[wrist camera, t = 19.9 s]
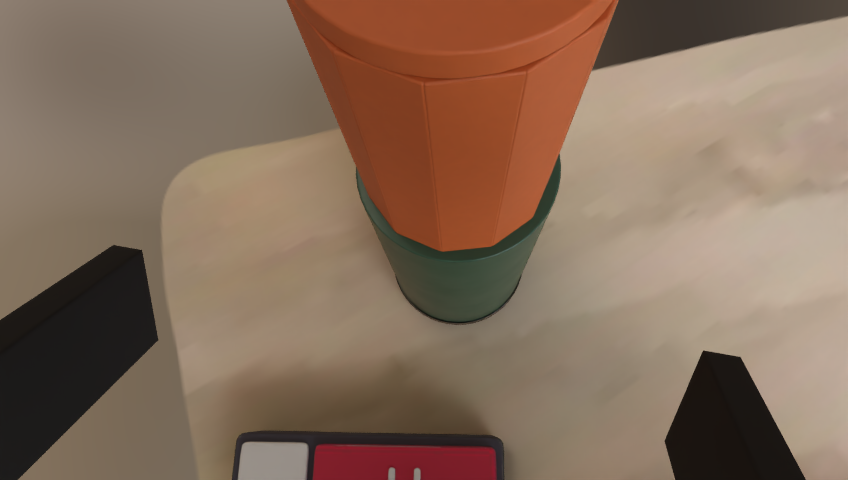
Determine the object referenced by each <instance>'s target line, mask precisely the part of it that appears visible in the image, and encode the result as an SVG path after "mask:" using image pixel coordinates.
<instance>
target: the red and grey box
mask: <svg viewBox="0 0 848 480" xmlns="http://www.w3.org/2000/svg"><path fill="white" fill-rule="evenodd" d="M232 480H504V450H503V443H502V441H501V440H500V439H499V438H497V437H495V436H492V435H460V434H404V433H347V432H310V431H255V432H247V433H242V434H241V435H239V437H238V438H237V442H236V449H235V457H234V466H233V474H232Z"/></svg>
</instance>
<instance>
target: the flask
mask: <svg viewBox="0 0 848 480" xmlns="http://www.w3.org/2000/svg"><path fill="white" fill-rule="evenodd" d="M560 176H561V162H560V154H559V155H558V158H557V160H556V163H555V166H554V168H553V171H552V173H551V176H550V178H549V181H548V183H547V185H546V188H545V190H544V192H543V195H542V197H541V200H540V202H539V204H538V207H537V209H536V211H535V214H534V216H533V218H532V219H530V220H529V221H527V222H526V223H525V224H523V225H522V226H520V227H519V228H518V229H516V230H515V231H513V232H512V233H511V234H509V235H508V236H506V237H505V238H504V239H502V240H501V241H499V242H498V243H497V244H495V245H494V246H491V247H482V248H473V249H464V250H454V251H445V252H442V251H438V250H436V249H433V248H431V247H429V246H426V245H424V244H421V243H419V242H417V241H414V240H412V239H410V238H407V237H405V236H402V235H400V234H398V233H396V232H395V231H394V230H393V229H392V227H391V226H390V224H389V223H388V222H387V220H386V219H385V218H384V216H383V215H382V214H381V212H380V211H379V210H378V208H377V207H376V205H375V204H374V203H373V201H372V200H371V199H370V197H369V196H368V193H367V191H366V188H365V186H364V184H363V181H362V179H361V176H360V174H359V172H358V169H357V167H356V179H357V187H358V191H359V194H360V198H361V201H362V203H363V205H364V207H365V210H366V212H367V214H368V216H369V218H370V221H371V223H372V225H373V227H374V229H375V231H376V234H377V236H378V238H379V240H380V242H381V244H382V247H383V249H384V251H385V253H386V255H387V257H388V259H389V262H390V264H391V266H392V268H393V270H394V272H395V275H396V279H397V282H398V284H399V287H400V289H401V291H402V293H403V294H404V296H405V298H406V299H407V300H408V301H409V303H410V304H411V305H412V306H413V307H414V308H415V309H416V310H418V311H419V312H420V313H422V314H423V315H425V316H427V317H429V318H430V319H433V320H435V321H438V322H441V323H446V324H453V325H465V324H471V323H476V322H479V321H482V320H484V319H486V318H489V317H491V316H492V315H494V314H495V313H497V312H498V311H499V310H500V309H502V308H503V307H504V306H505V305H506V304H507V303H508V301H509V300H510V299H511V297H512V296H513V294H514V293H515V291H516V289H517V287H518V284H519V281H520V278H521V274H522V272H523V270H524V267H525V265H526V263H527V261H528V259H529V256H530V254H531V252H532V250H533V248H534V245H535V243H536V241H537V239H538V237H539V234H540V232H541V230H542V228H543V226H544V223H545V221H546V219H547V217H548V214H549V212H550V210H551V208H552V206H553V203H554V201H555V198H556V195H557V192H558V188H559V183H560Z"/></svg>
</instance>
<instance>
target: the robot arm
mask: <svg viewBox="0 0 848 480" xmlns="http://www.w3.org/2000/svg"><path fill="white" fill-rule="evenodd" d="M157 341H158V336H157V331H156V326H155V319H154V314H153V309H152V303H151V297H150V292H149V286H148V281H147V275H146V269H145V264H144V258H143V253H142V250H138V249H132V248H127V247H121V246H116V245H113V246H111V247H110V248H108V249H107V250H105V251H104V252H102V253H101V254H99V255H98V256H96V257H95V258H93V259H92V260H90V261H89V262H87V263H86V264H84V265H83V266H81V267H80V268H78V269H77V270H75V271H74V272H72V273H70V274H69V275H67V276H66V277H64V278H63V279H61V280H60V281H58V282H57V283H55V284H54V285H52V286H51V287H50V288H48V289H46V290H45V291H43V292H42V293H40V294H39V295H38V296H36V297H35V298H33V299H31V300H30V301H28V302H27V303H25V304H24V305H22V306H21V307H19V308H18V309H16V310H15V311H13V312H12V313H10V314H9V315H7V316H6V317H4V318H3V319H1V320H0V480H18V479H19V478H20V477H21V476H22V475H23V474H24V473H25V472H26V471H27V470H28V469H29V468H30V467H31V466H32V465H33V464H34V463H35V462H36V461H37V460H38V459H39V458H40V457H41V456H42V455H43V454H44V453H45V452H46V451H47V450H48V449H49V448H50V447H51V446H52V445H53V444H54V443H55V442H56V441H57V440H58V439H59V438H60V437H61V436H62V435H63V434H64V433H65V432H66V431H67V430H68V429H69V428H70V427H71V426H72V425H73V424H74V423H75V422H76V421H77V420H78V419H79V418H80V417H81V416H82V415H83V414H84V413H85V412H86V411H87V410H88V409H89V408H90V407H91V406H92V405H93V404H94V403H95V402H96V401H97V400H98V399H99V398H100V397H101V396H102V395H103V394H104V393H105V392H106V391H107V390H108V389H109V388H110V387H111V386H112V385H113V384H114V383H115V382H116V381H117V380H118V379H119V378H120V377H121V376H122V375H123V374H124V373H125V372H126V371H127V370H128V369H129V368H130V367H131V366H132V365H134V363H135V362H137V361H138V360H139V359H140V358H141V357H142V355H144V354H145V353H146V352H147V351H148V349H150V347H152V346H153V345H154V344H155V343H156V342H157ZM665 444H666V448H667V451H668V455H669V458H670V462H671V466H672V469H673V473H674V476H675V480H806V479H805V477H804V475H803V474H802V472H801V470H800V468H799V466H798V464H797V462H796V460H795V459H794V457H793V455H792V453H791V451H790V449H789V447H788V445H787V444H786V442H785V440H784V438H783V436H782V434H781V432H780V430H779V429H778V427H777V425H776V423H775V421H774V419H773V417H772V415H771V413H770V412H769V410H768V408H767V406H766V404H765V402H764V400H763V398H762V397H761V395H760V393H759V391H758V389H757V387H756V385H755V383H754V382H753V380H752V378H751V376H750V374H749V372H748V370H747V368H746V367H745V365H744V363H743V361H742V359H741V357H736V356H731V355H725V354H720V353H714V352H708V351H703V352H702V354H701V357H700V359H699V361H698V364H697V366H696V368H695V371H694V373H693V375H692V378H691V380H690V382H689V385H688V387H687V390H686V392H685V394H684V397H683V399H682V401H681V404H680V406H679V408H678V411H677V413H676V415H675V418H674V420H673V422H672V425H671V427H670V429H669V432H668V434H667V436H666V439H665Z"/></svg>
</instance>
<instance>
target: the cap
mask: <svg viewBox="0 0 848 480" xmlns="http://www.w3.org/2000/svg"><path fill="white" fill-rule="evenodd" d="M287 2H288V4H289V7H290V9H291V11H292V14H293V16H294V19H295V21H296V23H297V26H298V28H299V31H300V33H301V35H302V38H303V40H304V43H305V45H306V47H307V50H308V52H309V55H310V57H311V59H312V62H313V64H314V67H315V69H316V71H317V74H318V76H319V78H320V81H321V83H322V86H323V88H324V90H325V93H326V95H327V98H328V100H329V102H330V105H331V107H332V109H333V112H334V114H335V117H336V119H337V122H338V124H339V126H340V129H341V131H342V133H343V136H344V138H345V141H346V143H347V145H348V148H349V150H350V153H351V155H352V157H353V160H354V162H355V165H356V167H357V169H358V172H359V174H360V176H361V179H362V181H363V184H364V186H365V188H366V191H367V193H368V196H369V197H370V199H371V200H372V201H373V203H374V204H375V205H376V207H377V208H378V210H379V211H380V212H381V214H382V215H383V216H384V218H385V219H386V220H387V222H388V223H389V224H390V226H391V227H392V229H393V230H394V231H395V232H396V233H398V234H400V235H402V236H405V237H407V238H410V239H412V240H414V241H417V242H419V243H421V244H424V245H426V246H429V247H431V248H433V249H436V250H438V251H442V252H445V251H454V250H464V249H473V248H482V247H491V246H494V245H495V244H497V243H498V242H499V241H501V240H502V239H504V238H505V237H506V236H508V235H509V234H511V233H512V232H513V231H515V230H516V229H518V228H519V227H520V226H522V225H523V224H525V223H526V222H527V221H529V220H530V219H532V218H533V216H534V214H535V211H536V209H537V207H538V204H539V202H540V200H541V197H542V195H543V192H544V190H545V188H546V185H547V183H548V181H549V178H550V176H551V173H552V171H553V168H554V166H555V163H556V160H557V158H558V155H559V153H560V150H561V148H562V145H563V142H564V140H565V137H566V135H567V132H568V129H569V127H570V124H571V122H572V119H573V117H574V114H575V111H576V109H577V106H578V104H579V101H580V99H581V96H582V93H583V91H584V88H585V86H586V83H587V80H588V78H589V75H590V73H591V70H592V67H593V65H594V62H595V60H596V57H597V55H598V52H599V49H600V47H601V44H602V42H603V39H604V36H605V34H606V31H607V29H608V26H609V23H610V21H611V18H612V16H613V13H614V11H615V8H616V5H617V3H618V0H287Z"/></svg>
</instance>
